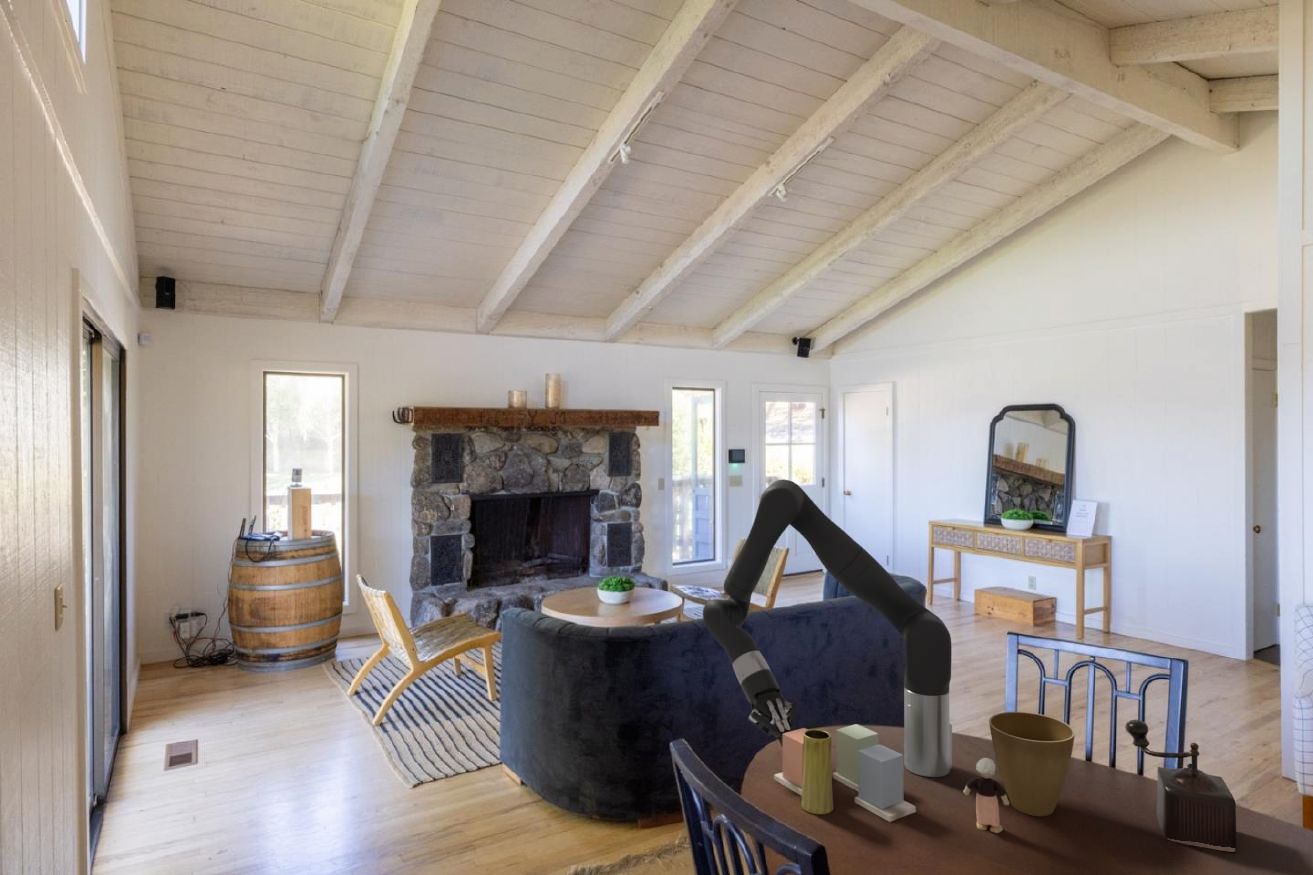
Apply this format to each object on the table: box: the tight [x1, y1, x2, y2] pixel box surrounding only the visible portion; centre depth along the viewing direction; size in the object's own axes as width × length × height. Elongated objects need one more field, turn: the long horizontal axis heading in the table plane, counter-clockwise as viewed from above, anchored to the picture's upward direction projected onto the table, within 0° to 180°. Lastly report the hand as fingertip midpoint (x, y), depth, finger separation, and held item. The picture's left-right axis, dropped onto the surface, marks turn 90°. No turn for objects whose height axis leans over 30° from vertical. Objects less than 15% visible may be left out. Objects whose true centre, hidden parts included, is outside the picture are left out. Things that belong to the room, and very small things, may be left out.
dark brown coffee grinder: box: [1125, 719, 1237, 849], centre depth 138 cm, size 16×11×18 cm
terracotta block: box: [782, 727, 809, 788], centre depth 156 cm, size 6×6×9 cm
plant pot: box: [988, 711, 1076, 817], centre depth 146 cm, size 15×15×16 cm
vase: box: [800, 728, 834, 816], centre depth 146 cm, size 6×6×14 cm
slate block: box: [857, 743, 905, 809], centre depth 147 cm, size 6×6×9 cm
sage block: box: [835, 723, 879, 783], centre depth 158 cm, size 6×6×9 cm
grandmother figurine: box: [962, 757, 1010, 834], centre depth 139 cm, size 8×4×13 cm, turn 71°
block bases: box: [773, 771, 917, 823], centre depth 152 cm, size 18×25×1 cm
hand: (791, 750), depth 159 cm, fingers closed
